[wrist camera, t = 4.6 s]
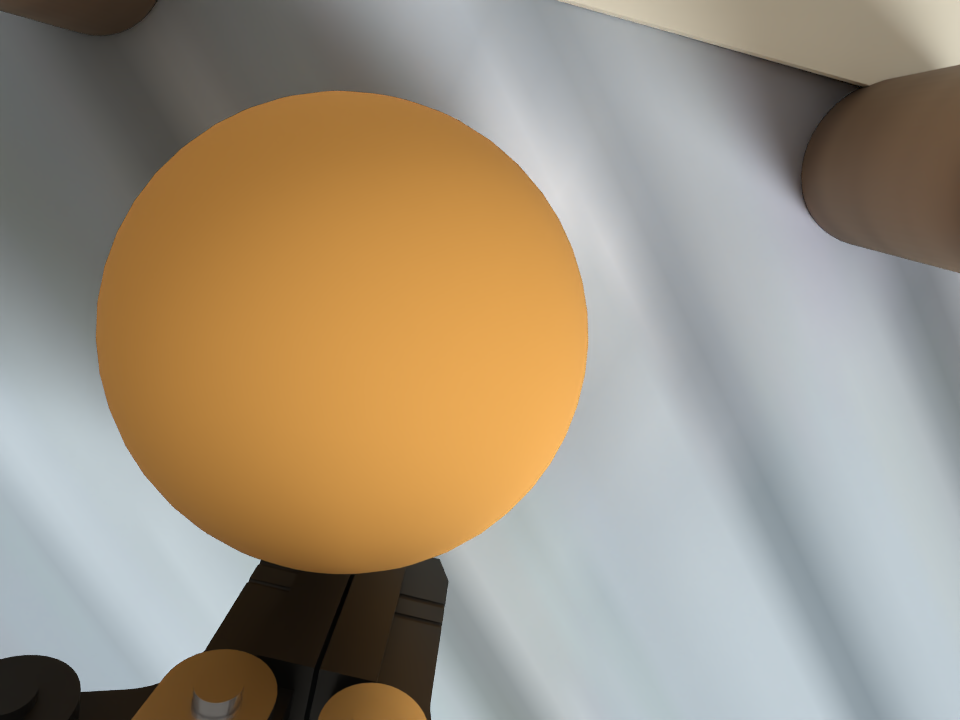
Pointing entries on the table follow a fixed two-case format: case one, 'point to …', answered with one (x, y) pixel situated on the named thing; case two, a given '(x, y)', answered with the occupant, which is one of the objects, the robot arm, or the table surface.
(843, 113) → the post
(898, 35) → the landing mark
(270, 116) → the ball
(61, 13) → the post
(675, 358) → the table surface
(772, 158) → the table surface
